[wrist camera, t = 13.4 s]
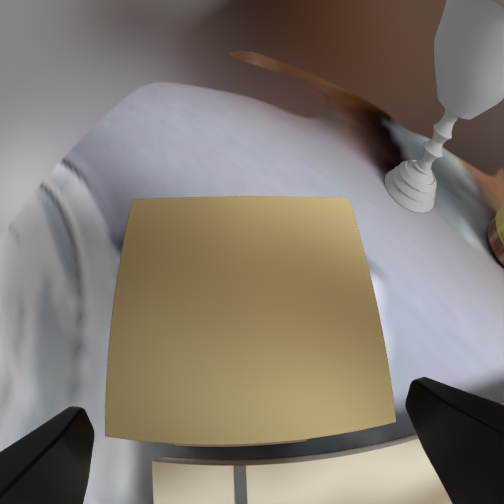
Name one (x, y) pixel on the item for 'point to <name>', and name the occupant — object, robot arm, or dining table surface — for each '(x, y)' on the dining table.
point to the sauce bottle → (497, 235)
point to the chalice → (456, 90)
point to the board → (305, 478)
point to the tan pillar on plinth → (244, 324)
